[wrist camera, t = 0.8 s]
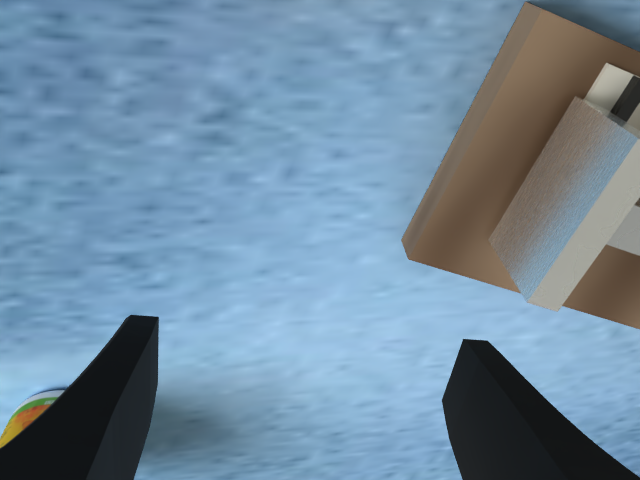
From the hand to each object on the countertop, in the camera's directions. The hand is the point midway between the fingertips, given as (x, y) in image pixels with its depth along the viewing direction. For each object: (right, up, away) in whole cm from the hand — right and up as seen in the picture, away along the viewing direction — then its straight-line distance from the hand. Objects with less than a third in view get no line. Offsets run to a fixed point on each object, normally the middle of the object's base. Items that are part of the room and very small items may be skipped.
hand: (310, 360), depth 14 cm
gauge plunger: (+13, +4, +8) cm, 16 cm away
